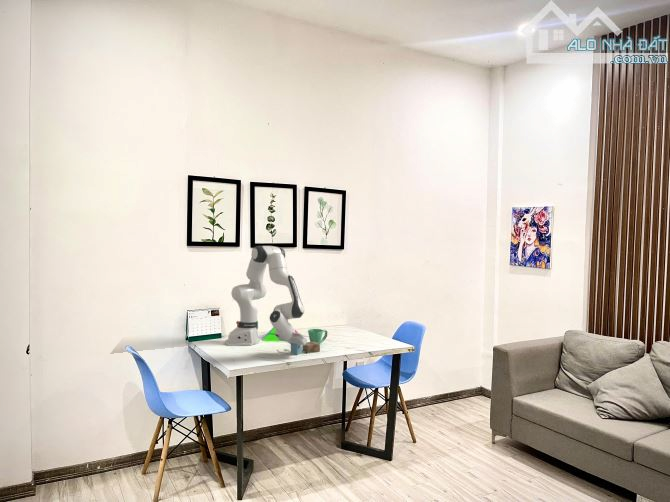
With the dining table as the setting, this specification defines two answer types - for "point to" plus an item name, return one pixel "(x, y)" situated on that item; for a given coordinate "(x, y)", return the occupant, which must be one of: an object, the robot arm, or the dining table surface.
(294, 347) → the teal brick
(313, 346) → the base block
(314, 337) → the mug
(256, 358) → the dining table surface
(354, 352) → the dining table surface
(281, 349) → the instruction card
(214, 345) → the dining table surface
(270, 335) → the pyramid toy
